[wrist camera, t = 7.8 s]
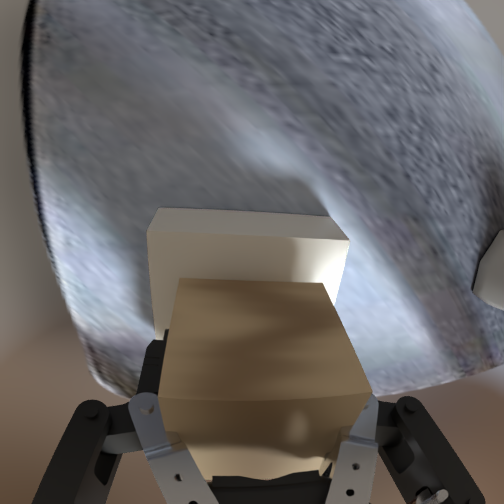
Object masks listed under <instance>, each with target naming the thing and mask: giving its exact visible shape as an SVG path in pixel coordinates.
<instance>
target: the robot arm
mask: <svg viewBox="0 0 504 504" xmlns="http://www.w3.org/2000/svg"><path fill="white" fill-rule="evenodd" d="M168 333H169V329H165V332H164V337H163V340H153V341H152V342H151V343H150V344H149V345H148V347H147V349H146V353H145V358H144V362H143V366H142V371H141V375H140V380H139V384H138V389H137V393H136V395H135V396H134V397H133V398H132V399H131V400H130V401H129V402H127V403H126V404H123V405H117V406H111V407H106V405H105V404H104V403H102V402H100V401H98V400H87V401H84V402H82V403H81V404H80V405H79V406H78V407H77V408H76V410H75V412H74V414H73V416H72V418H71V420H70V422H69V424H68V426H67V428H66V430H65V432H64V434H63V436H62V438H61V440H60V442H59V444H58V447H57V448H56V450H55V452H54V455H53V457H52V459H51V461H50V463H49V466H48V467H47V470H46V472H45V474H44V476H43V479H42V481H41V483H40V485H39V488H38V490H37V493H36V495H35V497H34V500H33V502H32V504H105V503H106V500H107V497H108V494H109V491H110V488H111V486H112V482H113V480H114V477H115V474H116V471H117V468H118V465H119V462H120V460H121V457H122V454H123V453H127V452H134V451H139V450H144V452H145V455H146V458H147V460H148V462H149V465H150V467H151V469H152V472H153V474H154V476H155V479H156V481H157V483H158V485H159V487H160V489H161V492H162V494H163V496H164V498H165V500H166V502H167V504H370V503H369V501H370V495H371V490H372V485H373V479H374V473H375V467H376V460H377V454H378V453H379V455H380V456H381V458H382V460H383V462H384V464H385V465H386V467H387V469H388V471H389V473H390V475H391V477H392V478H393V480H394V482H395V484H396V486H397V487H398V489H399V491H400V493H401V495H402V497H403V498H404V500H405V502H406V504H485V498H484V496H483V494H482V493H481V491H480V490H479V488H478V487H477V485H476V483H475V482H474V480H473V479H472V477H471V475H470V474H469V472H468V471H467V469H466V468H465V466H464V465H463V463H462V462H461V460H460V459H459V457H458V456H457V454H456V453H455V451H454V450H453V449H452V447H451V445H450V444H449V442H448V441H447V439H446V438H445V436H444V435H443V433H442V432H441V431H440V429H439V428H438V426H437V425H436V423H435V422H434V421H433V419H432V418H431V416H430V415H429V413H428V412H427V410H426V409H425V407H424V406H423V405H422V403H421V402H420V401H419V400H417V399H416V398H414V397H410V396H404V397H402V398H400V399H399V400H398V401H397V403H390V402H382V401H378V400H377V398H376V397H375V396H374V395H373V394H371V396H370V398H369V399H368V401H367V403H366V405H365V407H364V408H363V410H362V412H361V413H360V415H359V417H358V419H357V420H356V422H355V424H354V425H350V426H343V427H341V429H340V431H339V432H338V435H337V439H336V442H335V445H334V447H333V449H332V451H331V452H328V453H326V454H325V456H324V457H323V460H322V463H321V466H320V469H319V470H312V471H304V472H295V473H291V474H288V475H285V476H282V477H278V478H275V479H272V480H260V479H254V478H248V477H243V476H212V482H207V483H206V481H205V479H204V477H203V476H202V474H201V472H200V470H199V468H198V467H197V465H196V463H195V461H194V459H193V457H192V455H191V453H190V452H189V450H188V448H187V446H186V444H185V443H184V442H182V440H181V439H180V437H179V435H178V433H177V432H172V431H165V428H164V424H163V419H162V415H161V410H160V406H159V401H158V392H159V385H160V379H161V373H162V367H163V361H164V355H165V349H166V344H167V338H168Z"/></svg>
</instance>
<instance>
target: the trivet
mask: <svg viewBox="0 0 504 504" xmlns="http://www.w3.org/2000/svg"><path fill="white" fill-rule="evenodd" d="M146 232H147V250H148V265H149V278H150V289H151V300H152V309H153V318H154V327H155V335H156V340H163V337H164V332H165V329H169V327H170V322H171V317H172V312H173V307H174V302H175V297H176V292H177V287H178V282H179V278H196V279H219V280H245V281H275V282H314V283H323V284H324V286H325V288H326V291H327V293H328V295H329V297H330V299H331V301H332V303H333V305H334V303H335V299H336V295H337V292H338V288H339V284H340V280H341V276H342V273H343V269H344V265H345V261H346V256H347V252H348V248H349V244H350V240H349V238H348V237H347V236H346V235H345V234H344V232H343V231H342V230H341V229H340V227H339V226H338V225H337V224H336V223H335V221H334V220H333V219H332V218H331V217H327V216H314V215H300V214H286V213H271V212H254V211H236V210H215V209H192V208H163V207H159V208H158V210H157V212H156V214H155V216H154V218H153V219H152V221H151V223H150V225H149V227H148V229H147V231H146Z"/></svg>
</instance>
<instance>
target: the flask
mask: <svg viewBox="0 0 504 504" xmlns="http://www.w3.org/2000/svg"><path fill="white" fill-rule="evenodd" d="M472 293H473V294H475V295H476V296H477V297H478V298H480V299H481V300H482V301H484V302H485V303H486V304H489V305H491V306H493V307H496V308H499V309H501V310H504V230H500V231H499V233H498V235H497V236H496V238H495V239H494V241H493V243H492V244H491V246H490V247H489V249H488V250H487V252H486V253H485V255H484V256H483V258H482V259H481V261H480V264H479V269H478V273H477V277H476V281H475V285H474V289H473V292H472Z"/></svg>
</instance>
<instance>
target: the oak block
mask: <svg viewBox="0 0 504 504" xmlns="http://www.w3.org/2000/svg"><path fill="white" fill-rule="evenodd" d="M372 392H373V391H372V389H371V386H370V384H369V382H368V380H367V377H366V375H365V373H364V370H363V368H362V366H361V364H360V361H359V359H358V357H357V355H356V353H355V350H354V348H353V346H352V344H351V342H350V339H349V337H348V335H347V333H346V331H345V329H344V326H343V324H342V322H341V320H340V318H339V316H338V314H337V311H336V309H335V307H334V305H333V303H332V301H331V299H330V297H329V295H328V293H327V291H326V288H325V286H324V284H323V283H314V282H275V281H245V280H219V279H196V278H179V282H178V287H177V292H176V297H175V302H174V307H173V312H172V317H171V322H170V327H169V333H168V338H167V344H166V349H165V355H164V361H163V367H162V373H161V379H160V385H159V392H158V401H159V406H160V410H161V415H162V419H163V424H164V428H165V431H172V432H177V433H178V435H179V437H180V439H181V440H182V442H184V443H185V444H186V446H187V448H188V450H189V452H190V453H191V455H192V457H193V459H194V461H195V463H196V465H197V467H198V468H199V470H200V472H201V474H202V476H203V477H204V479H205V480H212V476H243V477H248V478H254V479H273V478H278V477H282V476H285V475H288V474H291V473H295V472H304V471H312V470H319V469H320V466H321V463H322V460H323V457H324V456H325V454H326V453H328V452H331V451H332V449H333V447H334V445H335V442H336V439H337V435H338V432H339V431H340V429H341V427H343V426H350V425H354V424H355V422H356V420H357V419H358V417H359V415H360V413H361V412H362V410H363V408H364V407H365V405H366V403H367V401H368V399H369V398H370V396H371V394H372Z"/></svg>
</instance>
